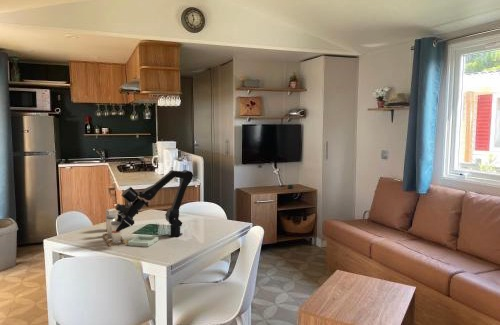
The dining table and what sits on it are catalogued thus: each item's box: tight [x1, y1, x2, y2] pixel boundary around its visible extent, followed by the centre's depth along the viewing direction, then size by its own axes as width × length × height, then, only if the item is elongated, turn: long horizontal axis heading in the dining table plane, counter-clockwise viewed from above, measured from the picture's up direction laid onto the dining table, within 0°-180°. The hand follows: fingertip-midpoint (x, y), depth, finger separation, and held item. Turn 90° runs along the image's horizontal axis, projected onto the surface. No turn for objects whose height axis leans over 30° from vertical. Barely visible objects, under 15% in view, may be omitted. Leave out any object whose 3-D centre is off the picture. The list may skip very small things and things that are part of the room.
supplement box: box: [105, 207, 119, 228], centre depth 237 cm, size 8×5×13 cm, turn 135°
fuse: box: [106, 215, 115, 237], centre depth 223 cm, size 5×5×12 cm
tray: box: [127, 235, 159, 248], centre depth 210 cm, size 12×12×2 cm
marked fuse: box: [111, 221, 122, 244], centre depth 209 cm, size 5×5×12 cm
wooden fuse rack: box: [102, 233, 129, 247], centre depth 217 cm, size 24×11×1 cm, turn 29°
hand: (114, 229), depth 208 cm, fingers open, 9 cm apart
